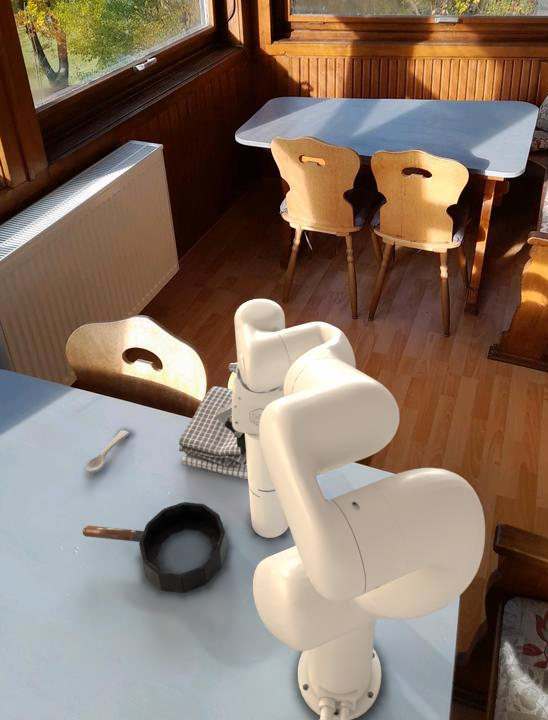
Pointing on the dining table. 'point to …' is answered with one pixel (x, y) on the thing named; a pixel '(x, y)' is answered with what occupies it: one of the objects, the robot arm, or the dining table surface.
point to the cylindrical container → (262, 493)
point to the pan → (161, 530)
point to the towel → (213, 438)
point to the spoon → (105, 453)
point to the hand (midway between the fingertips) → (267, 450)
